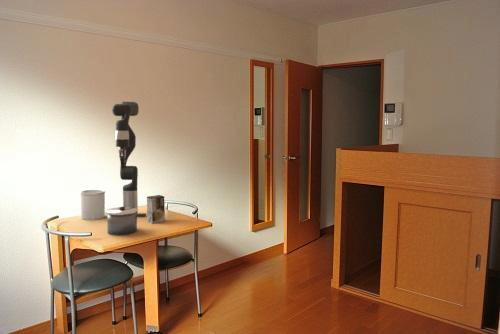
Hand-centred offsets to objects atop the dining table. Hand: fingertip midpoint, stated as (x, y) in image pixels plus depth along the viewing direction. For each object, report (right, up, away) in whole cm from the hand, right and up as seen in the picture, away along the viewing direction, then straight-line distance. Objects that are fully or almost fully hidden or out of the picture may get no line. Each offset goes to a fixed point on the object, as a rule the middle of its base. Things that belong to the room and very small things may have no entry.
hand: (122, 167), depth 230 cm
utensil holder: (-27, -32, +24) cm, 48 cm away
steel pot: (+5, -36, -7) cm, 37 cm away
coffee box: (+16, -34, +16) cm, 41 cm away
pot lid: (+3, -25, -9) cm, 26 cm away
